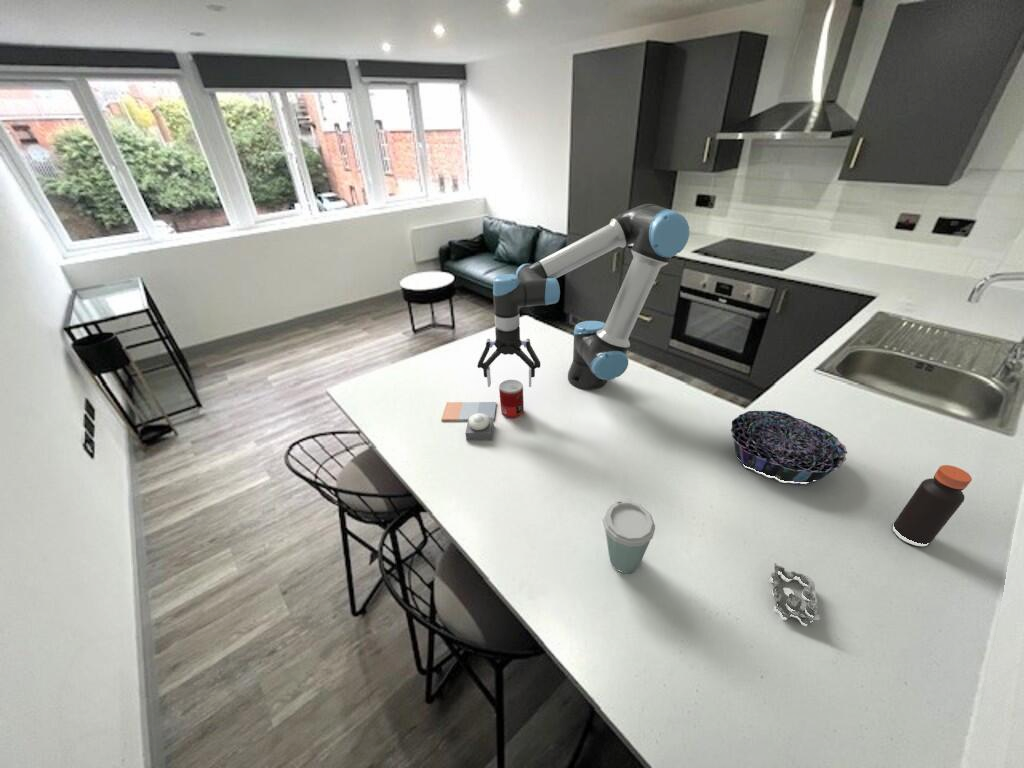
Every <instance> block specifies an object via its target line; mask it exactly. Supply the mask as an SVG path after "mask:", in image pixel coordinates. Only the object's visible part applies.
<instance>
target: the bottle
mask: <svg viewBox="0 0 1024 768" xmlns="http://www.w3.org/2000/svg"><path fill="white" fill-rule="evenodd" d="M972 481H973V477H972V476H971V475H970V474H969V472H967V471H965V470H964V469H961V468H960V467H957V466H953V465H949V464H943V465H940V466H939V467H938V468H937V470H936V472H935V473H934V476H933V477H932V478H931V477H930V478H926V479H924V480H922V481H921V483H920V484H919V485H918V487H917V488H916V490H915V491H914V493H913V495H912V496H911V497H910V498H909V500H908V501H907V503H906V504H905V506H904V507H903V509H902V510H901V512H900V514H898V516H897V518H896V519H895V521H894V522H893V523H894V527H895V529H896V530H897V531H898V532H899V533H900V534H901V535H902V536H904V537H906V538H907V539H909V540H912V541H914V542H917V543H921V544H922V543H923V544H927V543H930V542H931V543H932V542H933V540H934V539H935V538H936V537H937V535H938V534H939V533H940V532H941V530H942V529H944V526H945V525H946V524H947V523H948V522H949V521H950V519H951V518H952V516H953V515H955V513H956V512H957V510H958V509H959V508H960V506H961V505H962V504H963V503H964V501H965V494H964V492H963V491H964V490H965V489H966V488H967V487H968V486H969V484H970V483H971V482H972ZM931 543H930V544H931Z"/></svg>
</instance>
